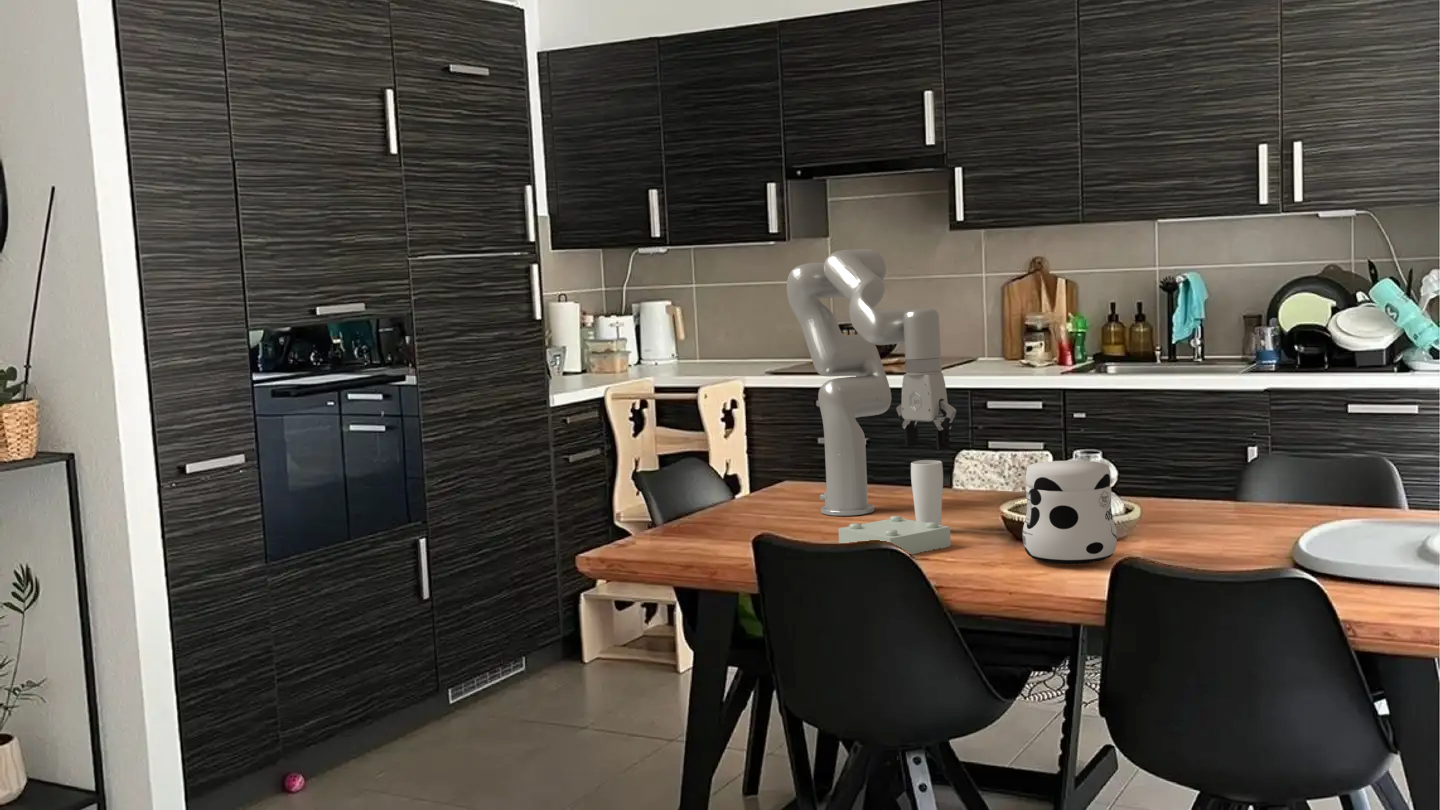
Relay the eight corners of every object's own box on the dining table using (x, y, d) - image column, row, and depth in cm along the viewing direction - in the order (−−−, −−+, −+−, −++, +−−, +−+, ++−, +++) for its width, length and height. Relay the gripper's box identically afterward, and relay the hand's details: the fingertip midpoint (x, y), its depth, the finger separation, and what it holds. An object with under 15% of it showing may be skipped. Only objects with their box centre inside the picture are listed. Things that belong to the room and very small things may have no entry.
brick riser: (839, 547, 285) (838, 524, 284) (897, 536, 294) (896, 513, 293) (891, 558, 272) (890, 534, 271) (950, 546, 281) (949, 522, 280)
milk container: (1137, 559, 260) (1135, 465, 258) (1072, 574, 251) (1070, 476, 249) (1067, 547, 274) (1065, 457, 273) (1004, 560, 265) (1001, 467, 263)
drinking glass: (941, 534, 293) (939, 464, 292) (909, 534, 295) (907, 464, 294) (947, 528, 299) (945, 459, 298) (916, 528, 302) (914, 459, 300)
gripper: (883, 368, 299) (887, 447, 300) (938, 368, 285) (942, 451, 286) (909, 365, 303) (913, 443, 304) (965, 366, 289) (969, 447, 290)
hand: (927, 447), depth 295 cm, fingers open, 9 cm apart
